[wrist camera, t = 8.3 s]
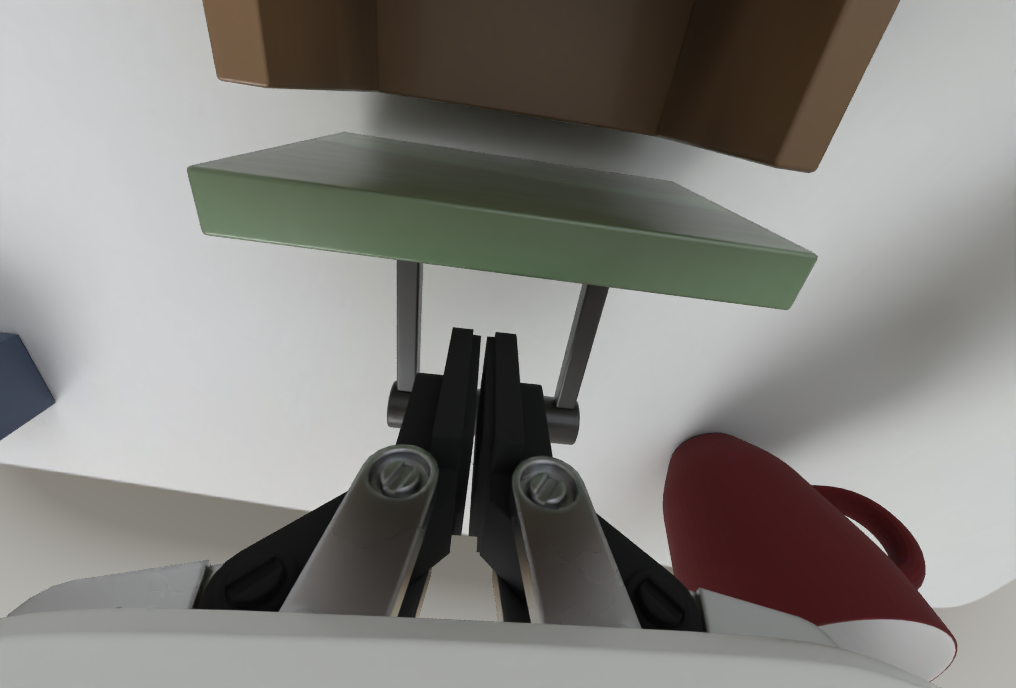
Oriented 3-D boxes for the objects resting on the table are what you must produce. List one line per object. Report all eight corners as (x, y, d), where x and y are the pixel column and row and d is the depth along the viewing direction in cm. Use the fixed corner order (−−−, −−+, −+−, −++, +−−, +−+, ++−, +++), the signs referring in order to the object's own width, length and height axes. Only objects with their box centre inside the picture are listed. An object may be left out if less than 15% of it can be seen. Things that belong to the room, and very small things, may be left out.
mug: (844, 379, 20) (1099, 591, 11) (817, 487, 24) (989, 703, 16) (627, 416, 21) (711, 634, 13) (636, 513, 25) (704, 728, 17)
